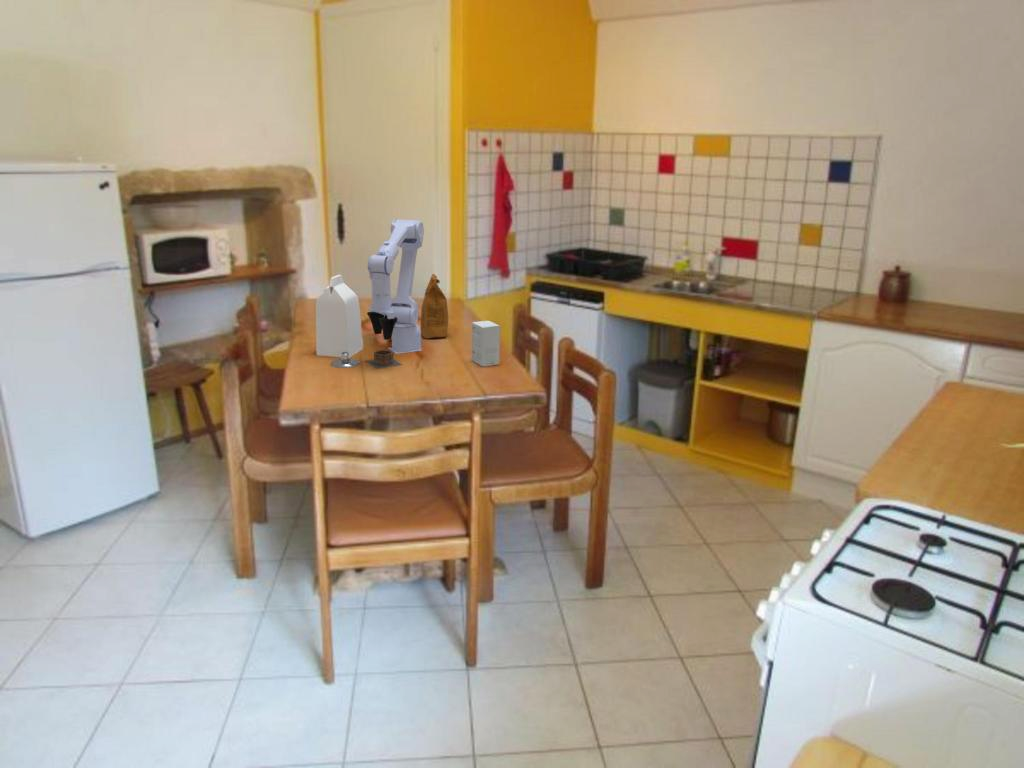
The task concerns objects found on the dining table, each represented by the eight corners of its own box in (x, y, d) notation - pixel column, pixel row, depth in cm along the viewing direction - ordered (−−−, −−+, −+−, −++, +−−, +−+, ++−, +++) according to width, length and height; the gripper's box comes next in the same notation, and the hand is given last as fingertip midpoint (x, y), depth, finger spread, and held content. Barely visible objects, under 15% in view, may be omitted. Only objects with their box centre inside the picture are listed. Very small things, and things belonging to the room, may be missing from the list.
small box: (499, 364, 243) (500, 325, 238) (482, 367, 240) (482, 327, 235) (488, 358, 249) (488, 320, 245) (471, 360, 246) (471, 321, 242)
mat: (391, 359, 245) (391, 357, 245) (402, 366, 238) (402, 364, 238) (365, 363, 241) (365, 361, 240) (376, 370, 234) (376, 368, 233)
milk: (349, 359, 244) (345, 280, 236) (316, 356, 246) (311, 278, 238) (363, 350, 255) (360, 274, 247) (332, 347, 257) (327, 272, 249)
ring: (388, 359, 243) (388, 349, 242) (396, 364, 238) (395, 353, 237) (372, 361, 240) (371, 351, 239) (379, 366, 235) (378, 355, 234)
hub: (353, 360, 244) (353, 347, 242) (364, 367, 236) (363, 354, 235) (327, 363, 239) (326, 351, 238) (336, 371, 232) (336, 358, 231)
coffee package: (446, 330, 283) (446, 272, 276) (449, 339, 271) (448, 279, 264) (420, 331, 281) (419, 273, 274) (421, 339, 270) (420, 279, 263)
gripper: (360, 291, 236) (362, 332, 240) (378, 299, 224) (380, 343, 228) (381, 289, 239) (382, 330, 244) (400, 297, 228) (401, 340, 232)
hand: (382, 336), depth 236 cm, fingers open, 7 cm apart
